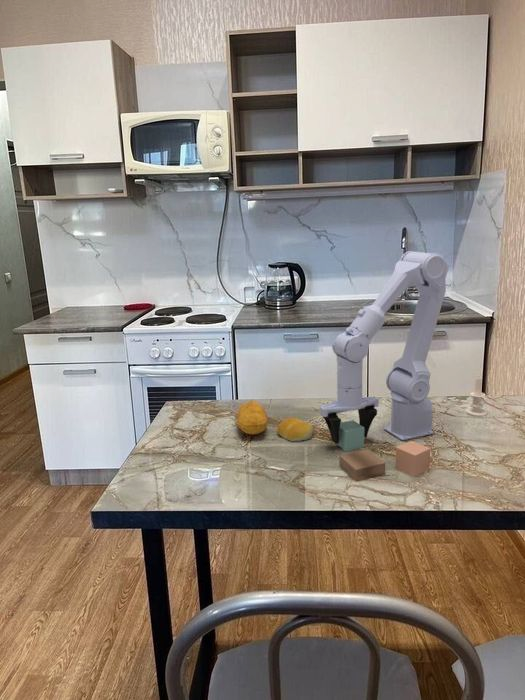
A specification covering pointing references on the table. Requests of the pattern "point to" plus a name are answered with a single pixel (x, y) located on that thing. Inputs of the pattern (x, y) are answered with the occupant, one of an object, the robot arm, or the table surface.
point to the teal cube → (351, 435)
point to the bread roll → (295, 429)
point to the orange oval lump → (252, 418)
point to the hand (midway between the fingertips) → (349, 439)
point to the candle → (477, 401)
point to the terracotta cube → (412, 458)
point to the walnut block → (362, 465)
